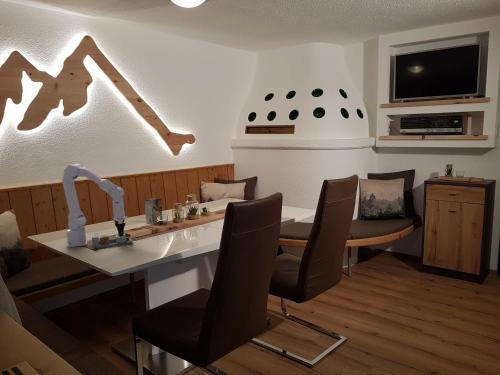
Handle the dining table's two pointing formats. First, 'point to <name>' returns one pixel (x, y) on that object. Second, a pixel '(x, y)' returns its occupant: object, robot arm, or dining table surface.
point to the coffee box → (153, 210)
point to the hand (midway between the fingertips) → (120, 233)
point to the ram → (120, 238)
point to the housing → (104, 239)
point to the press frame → (96, 241)
